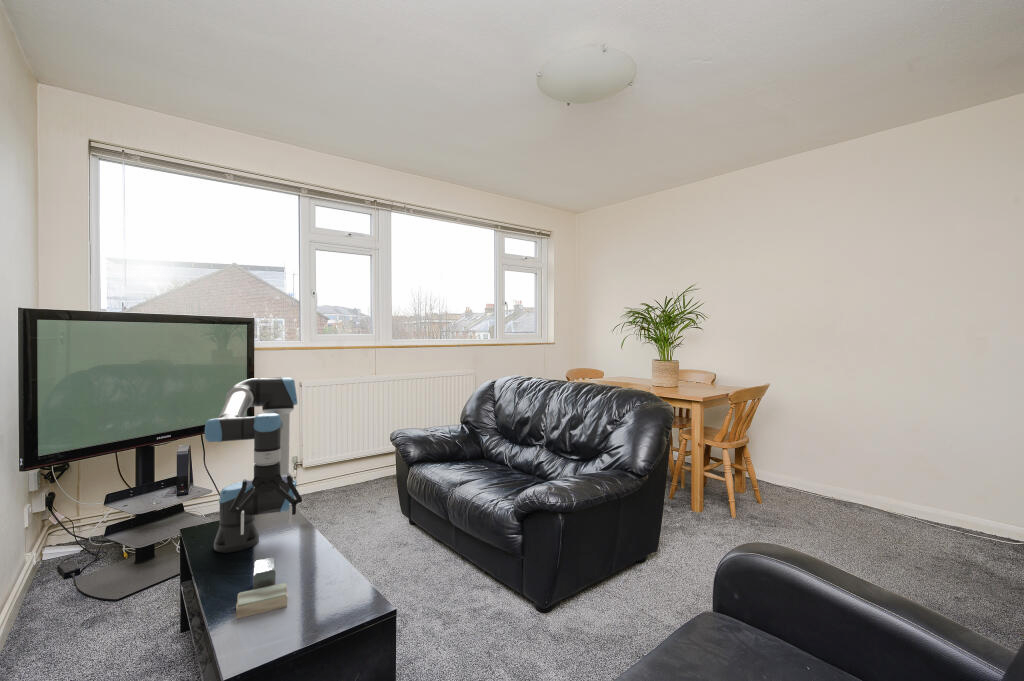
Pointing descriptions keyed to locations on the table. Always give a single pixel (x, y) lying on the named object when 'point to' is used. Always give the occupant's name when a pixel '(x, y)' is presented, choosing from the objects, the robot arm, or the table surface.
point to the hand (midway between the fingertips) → (267, 528)
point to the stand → (261, 600)
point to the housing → (264, 573)
